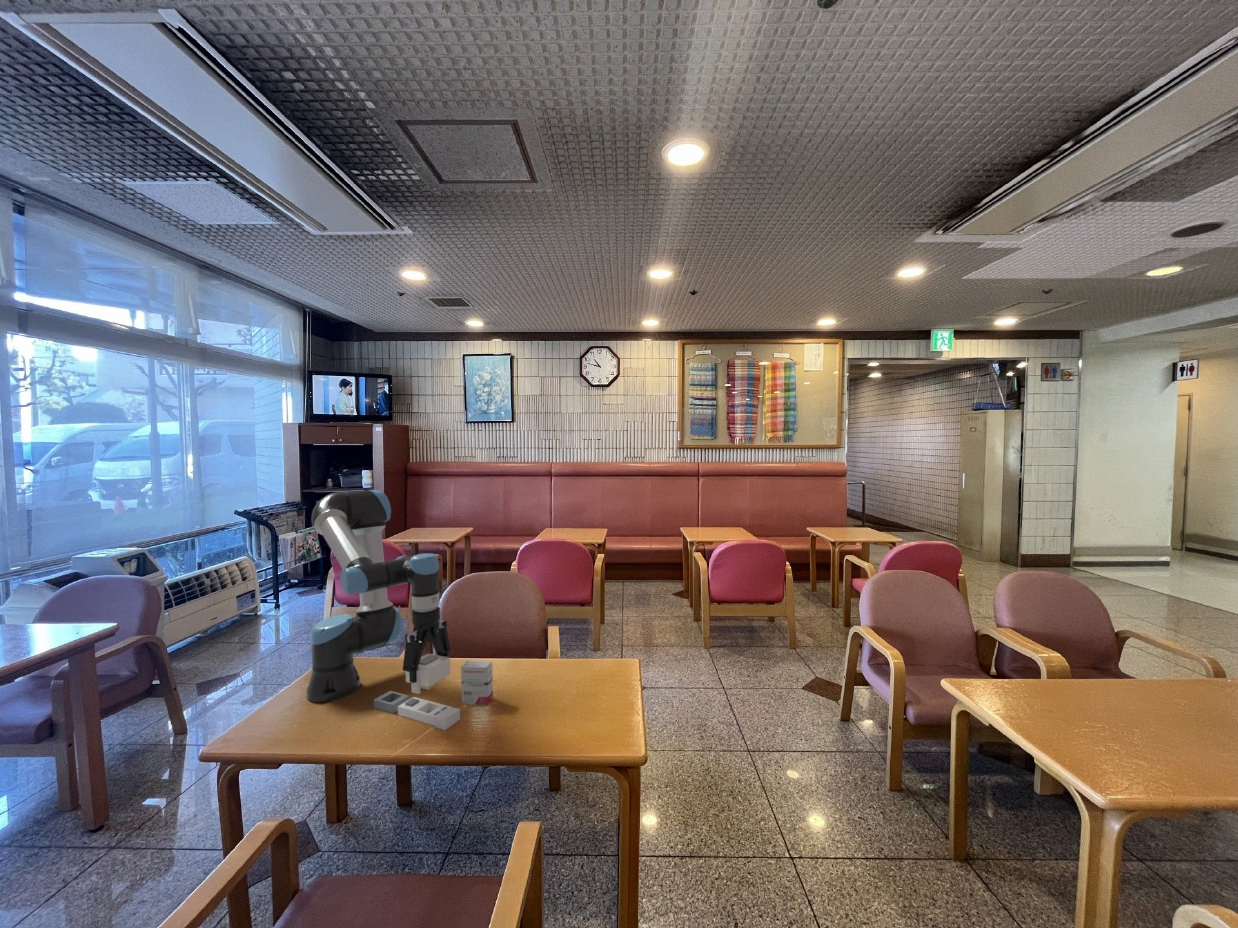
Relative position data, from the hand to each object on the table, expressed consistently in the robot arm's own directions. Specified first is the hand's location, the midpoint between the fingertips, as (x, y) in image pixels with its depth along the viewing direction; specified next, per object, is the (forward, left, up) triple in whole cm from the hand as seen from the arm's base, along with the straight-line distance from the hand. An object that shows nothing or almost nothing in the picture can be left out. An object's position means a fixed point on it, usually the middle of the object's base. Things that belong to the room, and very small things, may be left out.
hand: (428, 685), depth 144 cm
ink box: (+6, +13, -10) cm, 18 cm away
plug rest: (-15, 0, -10) cm, 18 cm away
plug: (0, 0, 0) cm, 0 cm away
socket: (0, 0, -10) cm, 10 cm away
